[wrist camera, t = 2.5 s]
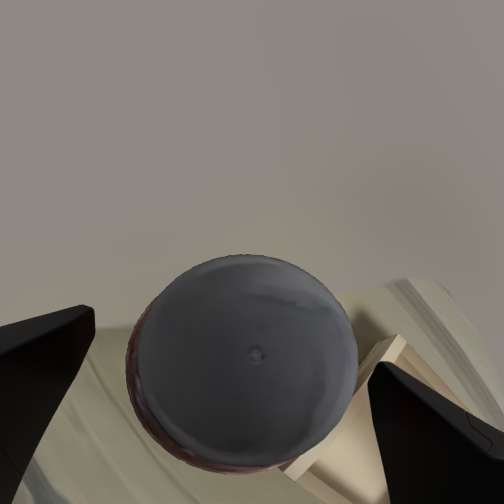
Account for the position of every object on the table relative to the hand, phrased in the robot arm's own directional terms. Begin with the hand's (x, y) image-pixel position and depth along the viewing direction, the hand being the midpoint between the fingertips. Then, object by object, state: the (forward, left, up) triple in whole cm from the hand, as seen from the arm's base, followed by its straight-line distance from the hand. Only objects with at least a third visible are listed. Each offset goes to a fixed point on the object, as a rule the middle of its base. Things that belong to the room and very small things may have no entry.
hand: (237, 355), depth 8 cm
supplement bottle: (0, 0, -8) cm, 8 cm away
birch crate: (+3, -10, -8) cm, 13 cm away
